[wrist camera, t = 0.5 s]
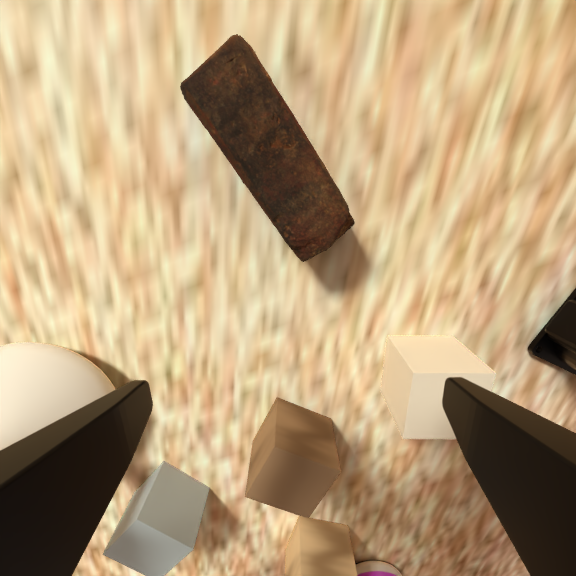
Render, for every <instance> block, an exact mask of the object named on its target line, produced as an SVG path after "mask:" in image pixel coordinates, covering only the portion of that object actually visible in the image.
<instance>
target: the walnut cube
mask: <svg viewBox="0 0 576 576" xmlns="http://www.w3.org/2000/svg"><path fill="white" fill-rule="evenodd" d="M340 472H341V468H340V463H339V457H338V452H337V447H336V442H335V437H334V431H333V426H332V421H331V418H328V417H326V416H323V415H321V414H318V413H315V412H313V411H310V410H308V409H305V408H303V407H300V406H298V405H295V404H293V403H290V402H288V401H285V400H283V399H280V398H278V397H277V398H276V400H275V402H274V404H273V406H272V407H271V409H270V411H269V413H268V415H267V416H266V418H265V420H264V422H263V424H262V425H261V427H260V429H259V431H258V433H257V434H256V436H255V438H254V440H253V444H252V451H251V458H250V465H249V472H248V479H247V486H246V493H245V497H247V498H250V499H253V500H255V501H258V502H261V503H264V504H267V505H270V506H273V507H276V508H279V509H282V510H285V511H288V512H291V513H294V514H296V515H299V516H302V517H305V518H309V517H310V515H311V514H312V512H313V511H314V510H315V508H316V507H317V505H318V504H319V502H320V501H321V500H322V498H323V497H324V495H325V494H326V492H327V491H328V490H329V488H330V487H331V485H332V484H333V482H334V481H335V480H336V478H337V477H338V475H339V474H340Z"/></svg>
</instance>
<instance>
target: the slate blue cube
mask: <svg viewBox="0 0 576 576" xmlns="http://www.w3.org/2000/svg"><path fill="white" fill-rule="evenodd" d="M209 489H210V488H209V487H208V486H206V485H204V484H203V483H201V482H199V481H197V480H196V479H194V478H192V477H191V476H189V475H187V474H186V473H184V472H182V471H180V470H179V469H177V468H175V467H174V466H172V465H170V464H169V463H167V462H165V461H163V462H162V463H161V464H160V466H159V467H158V468H157V469H156V470H155V471H154V472H153V473H152V474H151V475H150V476H149V477H148V478H147V479H146V480H145V482H144V483H143V484H142V485H141V486H140V487H139V488H138V489H137V490H136V491H135V492H134V494H133V496H132V498H131V500H130V502H129V504H128V506H127V508H126V510H125V512H124V514H123V516H122V517H121V519H120V521H119V523H118V525H117V527H116V529H115V531H114V533H113V535H112V537H111V539H110V541H109V543H108V545H107V547H106V549H105V551H104V553H103V555H105V556H107V557H109V558H111V559H113V560H115V561H117V562H119V563H121V564H123V565H125V566H127V567H129V568H131V569H133V570H135V571H137V572H140V573H142V574H144V575H146V576H164V575H166V574H167V573H168V572H169V571H170V570H171V569H172V568H173V567H174V566H175V565H177V564H178V563H179V562H180V561H181V560H182V559H183V558H184V557H185V556H187V555H188V554H189V553H190V552H191V551H192V550H193V549H194V545H195V542H196V538H197V534H198V530H199V526H200V523H201V519H202V515H203V511H204V508H205V504H206V500H207V496H208V492H209Z"/></svg>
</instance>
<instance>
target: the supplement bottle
mask: <svg viewBox="0 0 576 576" xmlns="http://www.w3.org/2000/svg"><path fill="white" fill-rule="evenodd" d="M355 566H356V571H357V576H402V575H401V573H400V572H399V571H398V570H397V569H396V568H395V567H394V566H392V565H391V564H388V563H386V562H381V561H365V562H361V563H358V564H356V565H355Z"/></svg>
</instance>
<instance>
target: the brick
mask: <svg viewBox="0 0 576 576" xmlns="http://www.w3.org/2000/svg"><path fill="white" fill-rule="evenodd" d="M180 88H181V91H182V94H183V95H184V99H185V100H186V101H187V103H188V105H189V106H190V107H191V109H192V110H193V112H194V113H195V114H196V116H197V117H198V118H199V120H200V121H201V123H202V124H203V125H204V127H205V128H206V129H207V130H208V132H209V133H210V135H211V136H212V138H213V139H214V140H215V142H216V143H217V145H218V146H219V148H220V149H221V151H222V152H223V154H224V155H225V156H226V158H227V159H228V161H229V162H230V163H231V165H232V166H233V168H234V169H235V171H236V172H237V174H238V175H239V177H240V178H241V180H242V181H243V183H244V184H245V185H246V186H247V188H248V189H249V190H250V192H251V193H252V195H253V196H254V198H255V199H256V200H257V202H258V203H259V205H260V206H261V208H262V209H263V211H264V212H265V213H266V215H267V216H268V217H269V219H270V220H271V222H272V223H273V225H274V226H275V227H276V228H277V230H278V231H279V233H280V234H281V236H282V237H283V239H284V240H285V242H286V243H287V244H288V245H289V247H290V248H291V249H292V250H293V252H294V253H295V254H296V256H297V257H298V258H299V259H300V260H301V261H302V262H304V261H306V260H308V259H310V258H312V257H314V256H315V255H317V254H319V253H321V252H323V251H326V250H327V249H328V248H329V247H331V246H332V244H333V243H334V242H335V240H336V239H338V238H339V237H341V236H342V235H343V234H345V232H346V231H347V230H349V229H350V228H351V227H352V226H353V225H354V220H353V218H352V216H351V215H350V213H349V208H348V205H347V203H346V201H345V199H344V198H343V196H342V194H341V192H340V190H339V189H338V187H337V186H336V184H335V183H334V181H333V179H332V178H331V176H330V174H329V172H328V171H327V169H326V167H325V165H324V164H323V162H322V161H321V159H320V158H319V156H318V154H317V153H316V151H315V149H314V148H313V146H312V144H311V143H310V141H309V140H308V138H307V136H306V134H305V133H304V131H303V130H302V128H301V126H300V125H299V123H298V122H297V120H296V118H295V116H294V115H293V113H292V112H291V110H290V109H289V107H288V106H287V104H286V102H285V101H284V99H283V98H282V96H281V95H280V93H279V92H278V90H277V89H276V87H275V85H274V84H273V82H272V79H271V78H270V76H269V74H268V73H267V72H266V70H265V69H264V67H263V65H262V64H261V62H260V61H259V59H258V57H257V55H256V54H255V52H254V50H253V49H252V47H251V46H250V45H249V44H248V43H247V42H246V41H245V40H244V39H243V38H242V37H241V36H238V34H236V35H233V36H231V37H230V38H229V39H228V40H227V41H226V42H225V43H224V44H223V45H222V46H221V47H220V48H219V49H218V50H217V51H216V52H215V53H214V54H213V55H212V56H210V57H209V58H208V59H207V60H206V61H205V62H204V63H203V64H202V65H201V66H200V67H199V68H198V69H197V70H195V71H194V72H193V73H192V74H191V75H190V76H189V77H188V78H187V79H185V80H184V81H183V82H182V83H181V86H180Z"/></svg>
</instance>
